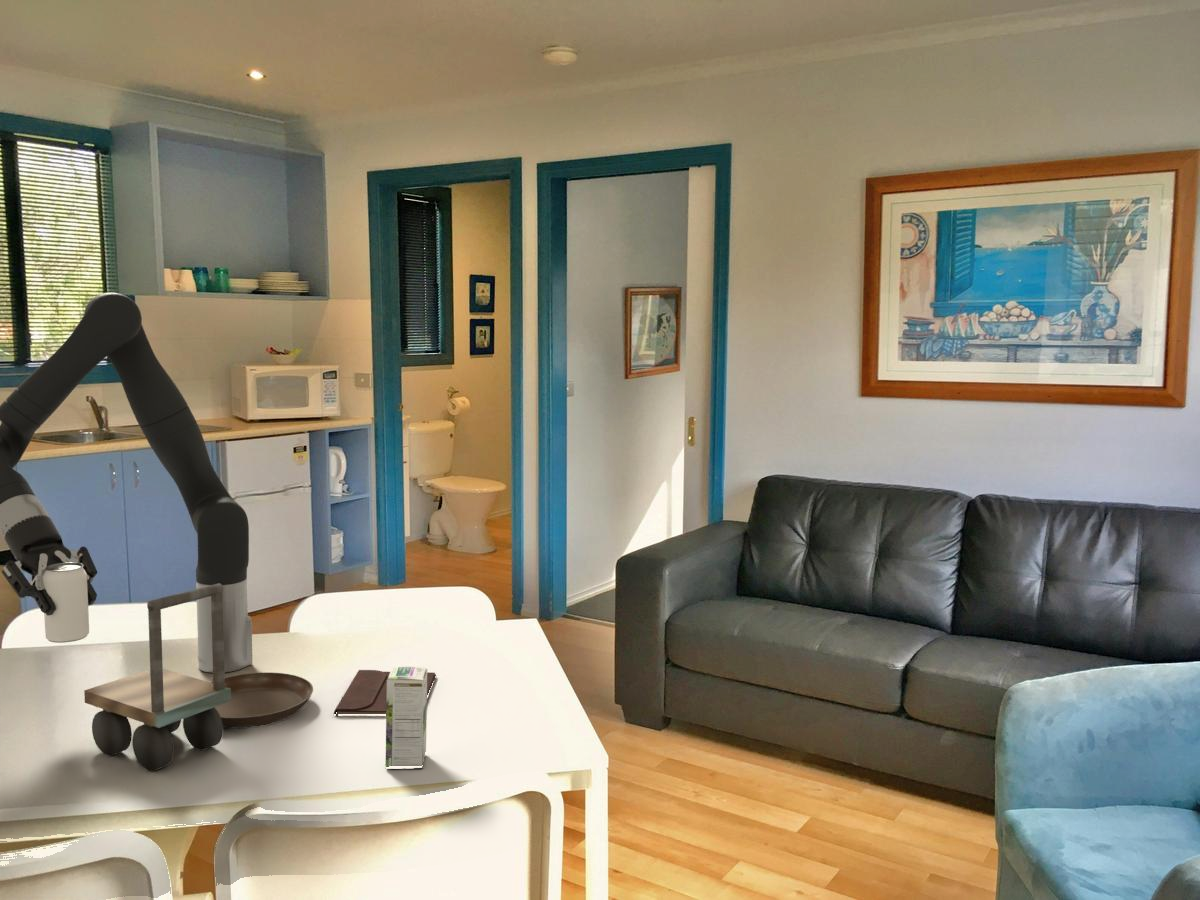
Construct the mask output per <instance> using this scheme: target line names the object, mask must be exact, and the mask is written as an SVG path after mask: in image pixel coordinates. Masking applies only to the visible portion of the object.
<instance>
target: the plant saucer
mask: <svg viewBox="0 0 1200 900" xmlns="http://www.w3.org/2000/svg"><path fill="white" fill-rule="evenodd" d="M210 683H213V681H212V682H210ZM225 687H227V688H230V689H231V701H229V702H227V703H224V704H221V705H219V706H216V707H214V708H215V709H216V710H217V711H218V713H219V715H220V717H221V720H222V724H223V728H226V727H227V728H229V729H230V728H231V729H245V728H246V729H249V728H257V727H264V726H268V725H272V724H276V723H278V722H282V721H285V720H287V719H289V718H291V717H292V716H293V715H296V714H297V713H298V712H299V711H300V710H301V709H302V708H303V707H304V706H305V705H306V704H307V703H308V701H309V700H310V698H311V697H312V695H313V692H314V686H313V684H312V683H311V681H309V680H307V679H306V678H303V677H301V676H299V675H295V674H289V673H283V672H252V673H245V674H238V675H231V676H227V677H225ZM284 719H285V720H284Z"/></svg>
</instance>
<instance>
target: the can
mask: <svg viewBox="0 0 1200 900" xmlns="http://www.w3.org/2000/svg"><path fill="white" fill-rule="evenodd" d="M45 570H46V571H45V574H44V576H43V584H44V589H43V590H46V591H47V593H48V594H49V596H50V597H51V598H52V600H53V602H54V604H55V606H56V610H55V612H54V613H53V614H52V615H48V616H47V615H46V613H43V614H44V615H43V616H44V631H45V639H46V640H47V641H48V642H51V643H56V644H57V643H58V644H60V643H61V644H63V643H64V644H65V643H72V642H77V641H80V640H83V639H85V638H87V637H88V635H89V634H90V624H89V623H90V618H89V617H90V615H89V606H88V590H87V575H86V572H85V570H84V569H83V564H81V563H75V561H73V562H68V563H58V564H53V565H49V566H47V567H45Z"/></svg>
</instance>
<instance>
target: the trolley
mask: <svg viewBox="0 0 1200 900" xmlns="http://www.w3.org/2000/svg"><path fill="white" fill-rule="evenodd" d="M209 596H211V615H212V654H213V673H212V677H213V678H212V680H213V681H212V682H213V683H211V682H209V681H207V680H202V679H199V678H197V677H196V678H195V677H192V676H189V675H186V674H183V673H178V672H175V671H172V670H170V669H169V670H168V669H165V668H164V667H163V640H162V639H163V638H162V611H161V610H164V609H166V608H167V609H168V608H171V607H175V606H178V605H182V604H185V603H186V604H187V603H190V602H194V601H197V600H198V599H202V598H206V597H209ZM147 614H148V636H149V637H148V642H149V643H148V644H149V645H148V647H149V669H147V670H143V671H141V672H138V673H135V674H132V675H129V676H125V677H122V678H119V679H116V680H113V681H109V682H106V683H103V684H100V685H98V686H97V685H96V686H93V687H91V688H87V689H84V690H83V691H84V692H83V693H84V695H83V696H84V703H85V704H87V705H89V706H93V707H96V708H99V709H102V710H100V711H98V712H96V713H95V714H94V716H93V718H92V723H91V732H92V738H93V741H94V743H95V744H96V747H97V748H98V749H99V751H100V752H101V753H103V754H104V755H105V756H114V755H118V754H119V753H122V752H124V751H126V750H127V749H129V747H130V745H132V749H133V753H134V756H135V759H136V760H137V762H138V763H139V765H140V766H141V767H142V768H143V769H144V770H145V771H149V772H155V771H156V770H159V769H162V768H164V767H167V766H168V765H170V764H171V762H172V760H173V758H174V754H175V748H174V746H175V745H174V741H173V738H172V734H171V733H174V732H176V731H178V729H179V728H180V726H181V723H182V728H183V733H184V735H185V738H186V739H187V741H188V743H189V744H190V746H192V747H193V748H194V749H196V750H198V751H205V750H207V749H210V748H212V747H215V746H217V745H219V744H220V742H221V741H222V738H223V736H224V727H223V724H222V720H221V717H220V715H219V713H218V711H217V710H216V709H215V708H214V707H216V706H219V705H221V704H224V703H227V702H229V701H231V689H230V688H227V687H225V678H226V677H225V673H226V672H224V632H223V586H222V585H221V584H220V583H218V584H215V585H211V586H207V587H203V588H199V589H192V590H188V591H187V590H186V591H183V592H180V593H176V594H171V595H168V596H163V597H159V598H156V599H151V600H148V601H147ZM129 719H131V720H134V721H137V722H140V723H143V724H142V725H139V726H137V728H136V729H135V730H134V732H133V734H132V726H131V724H130V721H129ZM131 743H132V744H131Z"/></svg>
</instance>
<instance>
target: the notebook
mask: <svg viewBox="0 0 1200 900" xmlns="http://www.w3.org/2000/svg"><path fill="white" fill-rule="evenodd" d="M390 672H391V671H383V670H376V669H359V670H358V671H357V672H356V674H355V675H354V677H353V679H352V681H351V682H350V684H349V686H348V687H347V690H346V691H345V692H344V694H343V696H342V697H341V699H340V700H339V703H338V704H337V706H336V708H335V709H334V712H333V715H334V714H336V712H337V715H338V714H386V703H387V680H388V677H389V675H390ZM435 676H436V677H437V675H436V673H435V672H428V671H427V695H428V693H429V690H430V688H431V686H432V683H433V681H434V679H435ZM435 680H436V679H435Z"/></svg>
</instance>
